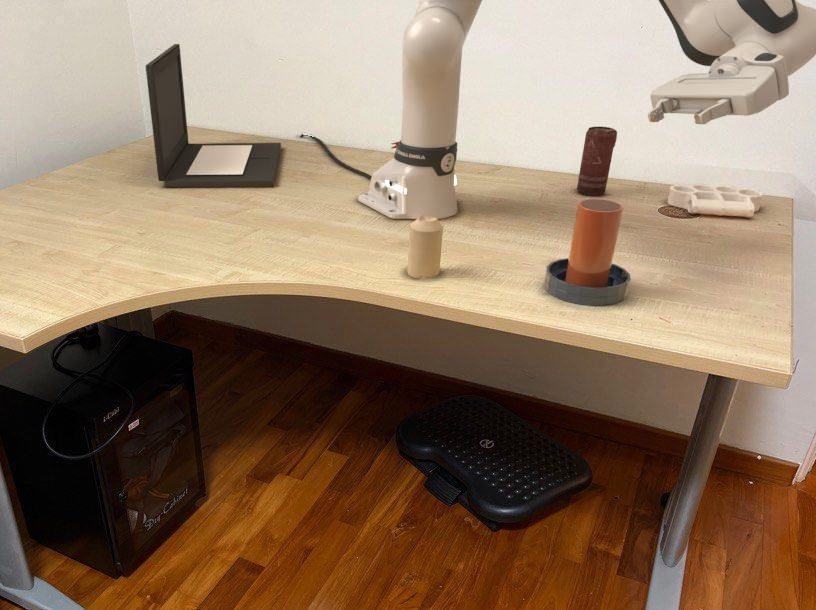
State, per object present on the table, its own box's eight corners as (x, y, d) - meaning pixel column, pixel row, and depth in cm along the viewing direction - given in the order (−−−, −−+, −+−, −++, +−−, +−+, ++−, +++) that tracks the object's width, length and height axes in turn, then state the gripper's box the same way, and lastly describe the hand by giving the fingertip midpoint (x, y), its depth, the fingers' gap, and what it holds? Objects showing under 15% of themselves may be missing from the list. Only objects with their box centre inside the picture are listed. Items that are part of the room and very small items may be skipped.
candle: (404, 268, 134) (407, 213, 129) (435, 267, 134) (439, 211, 129) (410, 280, 129) (414, 223, 124) (442, 279, 130) (447, 222, 125)
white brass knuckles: (673, 215, 157) (663, 195, 169) (769, 222, 153) (751, 200, 165) (677, 199, 155) (666, 180, 168) (774, 205, 152) (756, 185, 164)
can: (607, 197, 169) (620, 132, 161) (577, 195, 170) (588, 131, 163) (604, 189, 174) (616, 126, 167) (575, 188, 175) (585, 125, 168)
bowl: (527, 289, 126) (530, 270, 124) (574, 270, 132) (578, 252, 131) (595, 315, 117) (598, 295, 115) (642, 294, 124) (646, 274, 122)
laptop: (273, 187, 178) (268, 63, 164) (158, 187, 178) (144, 65, 165) (281, 148, 210) (277, 42, 196) (183, 149, 210) (173, 43, 197)
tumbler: (555, 287, 125) (569, 204, 118) (579, 277, 128) (594, 196, 121) (590, 300, 120) (606, 214, 113) (614, 290, 124) (631, 205, 117)
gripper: (683, 60, 131) (622, 99, 129) (793, 55, 113) (724, 101, 111) (690, 95, 134) (630, 134, 132) (798, 95, 116) (731, 140, 114)
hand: (674, 119), depth 121 cm, fingers open, 8 cm apart
